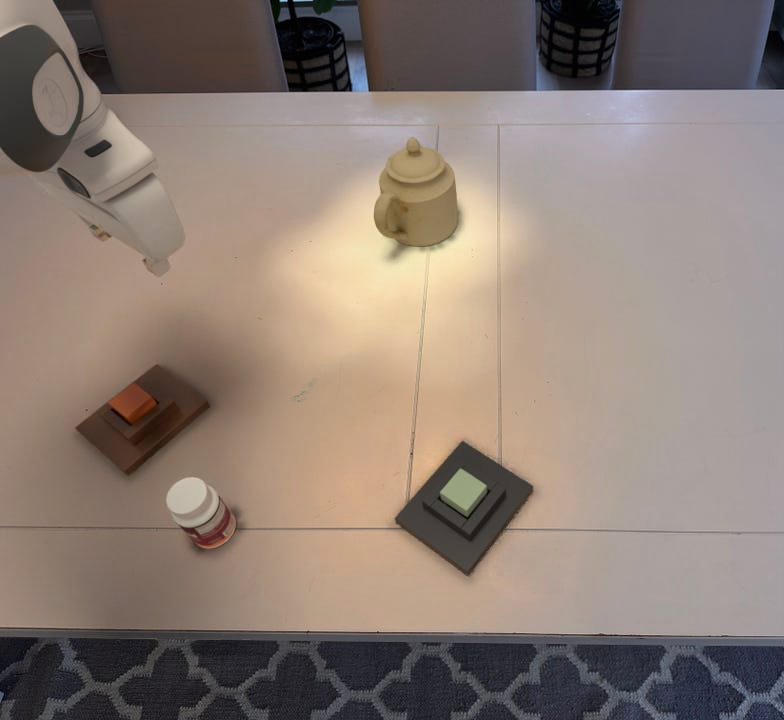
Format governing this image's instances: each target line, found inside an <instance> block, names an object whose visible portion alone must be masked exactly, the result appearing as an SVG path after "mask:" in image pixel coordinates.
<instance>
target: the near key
mask: <svg viewBox="0 0 784 720" xmlns="http://www.w3.org/2000/svg"><path fill="white" fill-rule="evenodd" d="M486 494H487V485H485V484H484V483H482V482H481V481H479V480H478V479H476V478H475V477H473V476H472V475H470V474H469V473H467V472H466V471H464V470H463V469H461V468H460V469H459V470H458V471H457V473H456V474H455V475H454V476H453V477H452V479H451V480H450V481H449V482H448V483H447V484H446V486H445V487H444V488H443V489H442V490H441V492H440V496H441V500H443V501H444V502H445V503H447V504H448V505H450V506H451V507H453V508H454V509H456V510H457V511H458V512H460V513H461V514H463V515H464V516H466V517H468V516H469V515H470V514H471V512H472V511H473V510H474V509H475V507H476V506H477V505H478V504H479V502H480V501H481V500H482V499H483V497H484V496H485V495H486Z"/></svg>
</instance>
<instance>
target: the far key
mask: <svg viewBox="0 0 784 720" xmlns="http://www.w3.org/2000/svg"><path fill="white" fill-rule="evenodd" d="M131 383H132V382H131ZM131 383H130V384H131ZM130 384H129V385H130ZM129 385H127V386H128V387H127V386H126V387H127V388H126V387H125V388H126V389H125V388H124V389H125V390H124V389H122V390H123V391H122V390H121V391H122V392H121V391H120V392H121V393H120V392H118V393H119V394H118V393H117V394H118V395H117V394H116V395H117V396H116V395H115V396H116V397H115V396H113V397H114V398H113V397H112V398H113V399H112V398H111V399H112V400H111V399H110V400H111V401H110V400H108V401H109V402H108V401H107V402H108V403H109V404H110V405H111V407H112V408H113V409H114V410H115V411H116V412H117V413H118V414H120V415H121V416H122V417H123V418H124V419H126V420H127V421H128V422H129V423H130V424H132V425H133V424H135V423H136V422H137V421H138V420H139V419H141V418H142V417H143V416H144V415H145V414H147V413H148V412H149V411H150V410H152V409H153V408H154V407H155V406H156V405H157V403H156V402H155V400H154V399H153V398H152V396H150V395H149V394H148V393H147V392H145V391H144V390H143V389H141V388H140V387H139V386H138V385H136V384H135V383H132V384H131V385H130V386H129Z"/></svg>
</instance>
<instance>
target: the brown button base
mask: <svg viewBox="0 0 784 720" xmlns="http://www.w3.org/2000/svg"><path fill="white" fill-rule="evenodd" d="M132 383H135V384H136V385H138V386H139V387H140V388H141V389H143V390H144V391H145V392H147V393H148V394H149V395H150V396H152V398H153V399H154V400H155V402H156V403H157V405H156V406H155V407H154V408H153V409H152V410H150V411H149V412H148V413H147V414H145V415H144V416H143V417H142V418H141V419H139V420H138V421H137V422H136V423H135V424H133V425H132V424H130V423H129V422H128V421H127V420H126V419H124V418H123V417H122V416H121V415H120V414H118V413H117V412H116V411H115V410H114V409H113V408H112V407H111V405H110V404H109V403H108V402H109V401H111V400H112V399H113V398H114V397H116V396H117V395H118V394H119V393H121V392H122V391H123V390H125V389H126V388H127V387H128V386H130V385H131V384H132ZM209 407H211V405H210V403H209V402H208V401H207V399H205V398H204V397H203V396H201V395H200V394H198V393H197V392H196V391H194V390H193V389H192V388H191V387H190V386H188V385H187V384H186V383H184V382H182V381H181V380H180V379H178V378H177V377H176V376H174V375H173V374H172V373H171V372H169V371H168V370H167V369H165V368H164V367H163V366H161V365H160V364H159V363H155V364H154V365H153V366H151V367H150V368H149V369H147V371H145V372H144V373H143V374H141V375H140V376H139V377H137V378H136V379H134V381H132V382H131V383H129V384H128V385H127V386H126V387H124V388H123V389H122V390H121V391H119V392H118V393H117V394H115V396H113V397H112V398H111V399H110V400H108V401H107V402H106V403H104V404H103V405H102V406H100V407H99V408H98V409H97V410H95V411H94V412H93V413H91V415H89V416H88V417H87V418H85V419H84V420H83V421H82V422H80V423H79V424H78V425H76V426H75V427H74V429H75V430H76V431H77V432H78V433H79V434H80V435H81V436H82V437H84V439H85V440H87V441H88V442H89V443H90V444H91V445H92V446H94V447H95V448H96V449H97V450H98V451H99V452H100V453H102V454H103V455H104V456H105V457H106V458H107V459H108V460H110V461H111V462H112V463H113V464H114V465H115V466H117V468H119V470H122V472H123V473H124V474H125V475H127V476H128V477H130V476H131V475H132V474H133V473H134V472H135V471H137V469H138V468H139V469H140V467H141V466H142V465H144V464H145V463H146V462H147V461H148V460H149V459H151V458H152V457H153V456H154V455H155V454H156V453H157V452H159V451H160V450H161V449H162V448H163V447H164V446H166V445H167V444H168V443H170V441H171V440H172V439H174V438H175V437H176V436H177V435H178V434H179V433H181V432H182V431H183V430H184V429H186V428H187V426H189V425H190V424H191V423H192V422H194V421H195V420H196V419H197V418H198V417H199V416H201V415H202V414H203V413H204V412H205V411H206V410H208V408H209Z"/></svg>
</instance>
